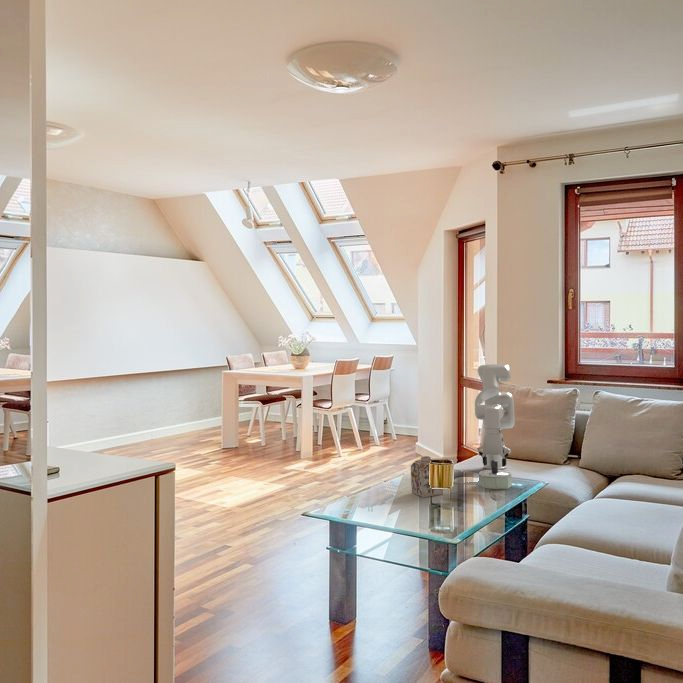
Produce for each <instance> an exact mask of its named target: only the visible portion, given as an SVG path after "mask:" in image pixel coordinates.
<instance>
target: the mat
mask: <svg viewBox="0 0 683 683" xmlns="http://www.w3.org/2000/svg"><path fill="white" fill-rule="evenodd" d="M455 484H462V485H475V486H478V485H479V481H478V482H469V483H468V482H466V483H464V482H462V483H461V482H458V481H457V482H456V483H455Z"/></svg>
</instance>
